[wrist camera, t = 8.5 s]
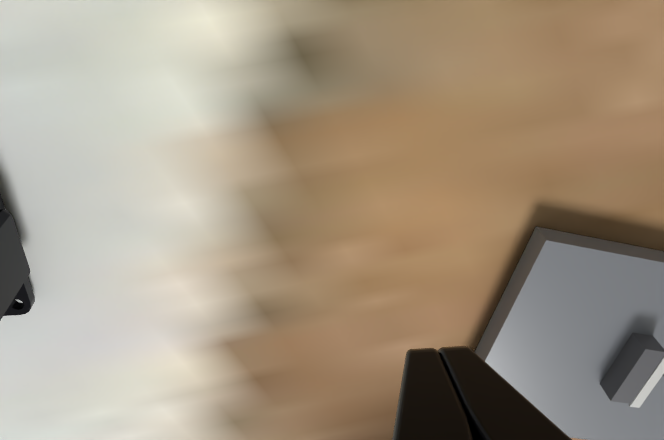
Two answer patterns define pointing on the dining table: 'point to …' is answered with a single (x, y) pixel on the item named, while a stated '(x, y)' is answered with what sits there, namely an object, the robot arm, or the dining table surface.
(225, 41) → the dining table surface
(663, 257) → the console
